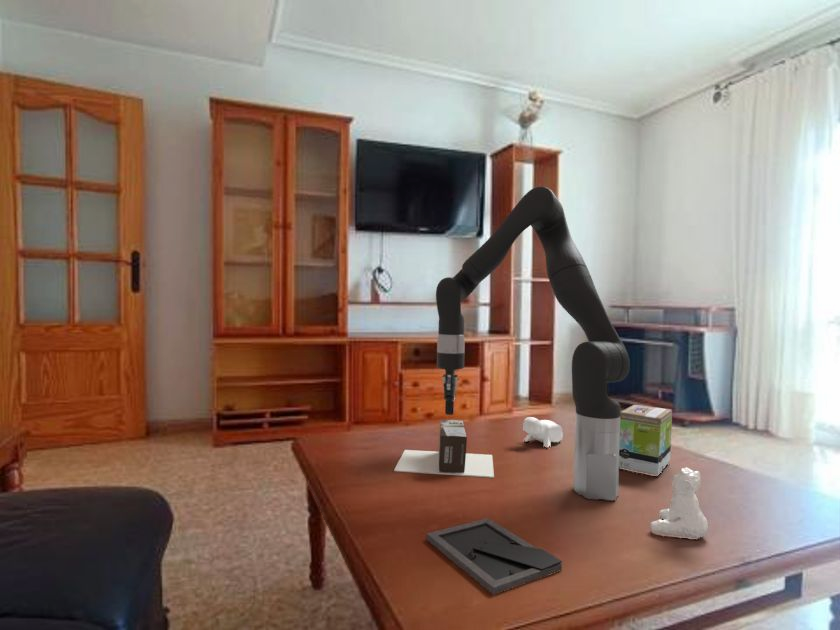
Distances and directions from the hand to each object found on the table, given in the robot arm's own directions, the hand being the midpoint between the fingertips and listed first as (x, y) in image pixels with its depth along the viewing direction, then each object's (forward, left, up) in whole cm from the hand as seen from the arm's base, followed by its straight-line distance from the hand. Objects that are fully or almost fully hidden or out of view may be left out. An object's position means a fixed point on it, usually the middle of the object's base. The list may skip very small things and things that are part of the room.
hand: (449, 414), depth 131 cm
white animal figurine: (+15, -27, -11) cm, 33 cm away
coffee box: (0, 0, -6) cm, 6 cm away
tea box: (-1, -51, -11) cm, 52 cm away
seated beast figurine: (-39, -45, -11) cm, 60 cm away
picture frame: (-53, -10, -12) cm, 55 cm away
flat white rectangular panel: (-8, 0, -11) cm, 14 cm away
